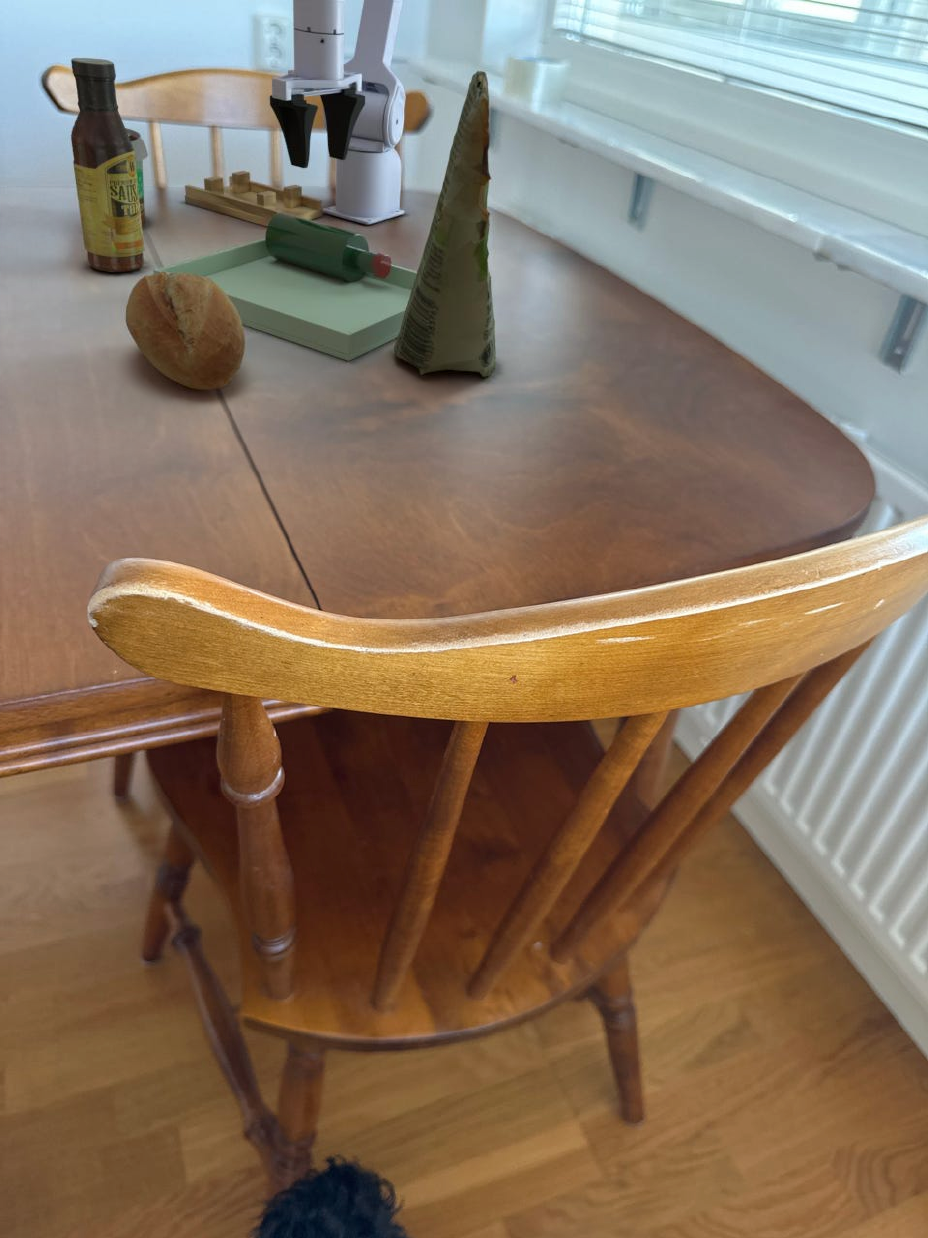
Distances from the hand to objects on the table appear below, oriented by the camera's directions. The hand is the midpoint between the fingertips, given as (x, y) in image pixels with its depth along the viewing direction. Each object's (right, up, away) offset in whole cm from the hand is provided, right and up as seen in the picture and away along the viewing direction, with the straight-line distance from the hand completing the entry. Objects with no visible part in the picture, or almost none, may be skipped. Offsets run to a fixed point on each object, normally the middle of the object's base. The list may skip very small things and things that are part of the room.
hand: (318, 162), depth 110 cm
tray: (+1, -21, -11) cm, 24 cm away
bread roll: (-7, -33, -28) cm, 44 cm away
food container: (-25, -6, +4) cm, 26 cm away
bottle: (+2, -16, -6) cm, 17 cm away
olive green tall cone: (+16, -31, -21) cm, 41 cm away
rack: (-11, +1, +15) cm, 18 cm away
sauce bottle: (-21, -16, -9) cm, 28 cm away
